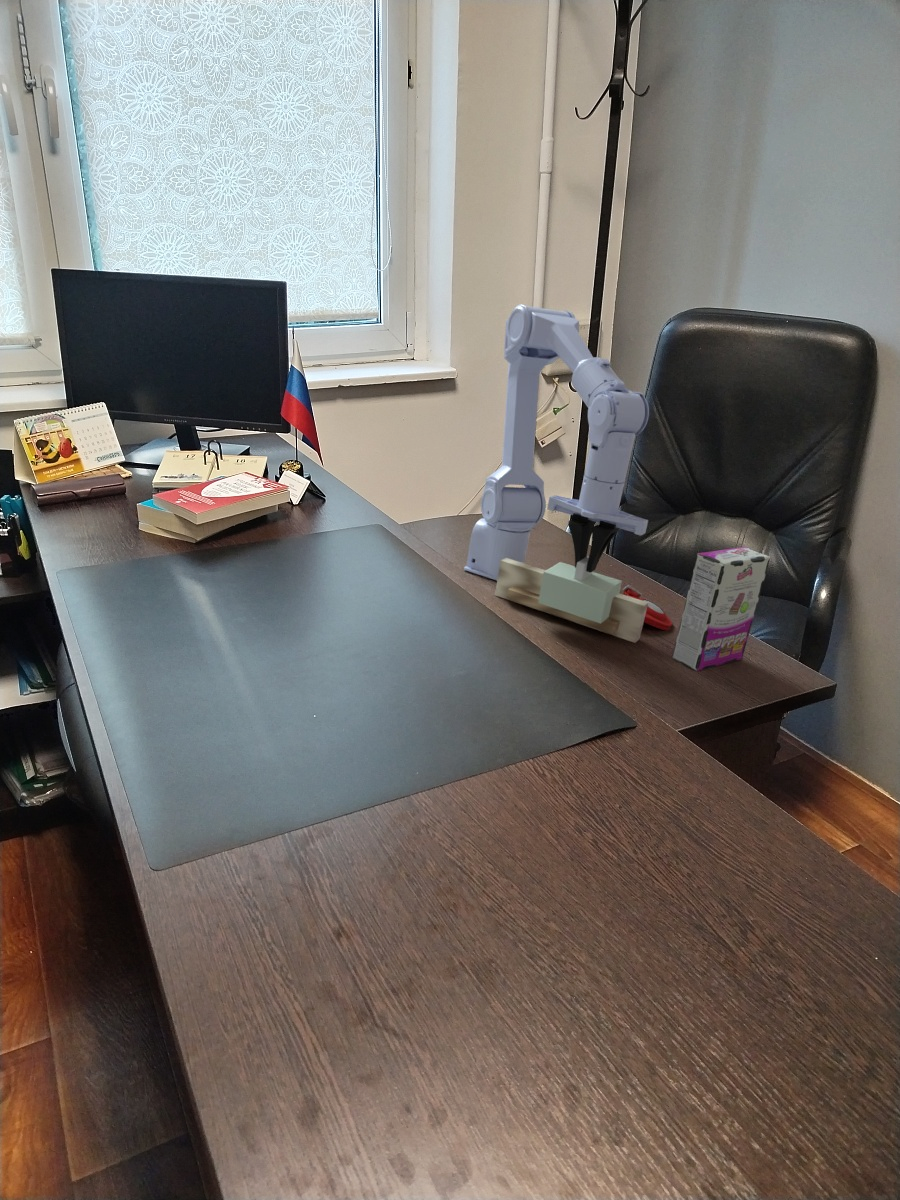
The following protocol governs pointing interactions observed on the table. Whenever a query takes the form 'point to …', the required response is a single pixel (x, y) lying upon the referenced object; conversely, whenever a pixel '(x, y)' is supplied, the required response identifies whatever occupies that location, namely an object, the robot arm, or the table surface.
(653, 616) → the tracker holder
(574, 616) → the wall board
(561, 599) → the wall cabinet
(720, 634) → the candy bar box
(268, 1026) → the table surface
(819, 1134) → the table surface
